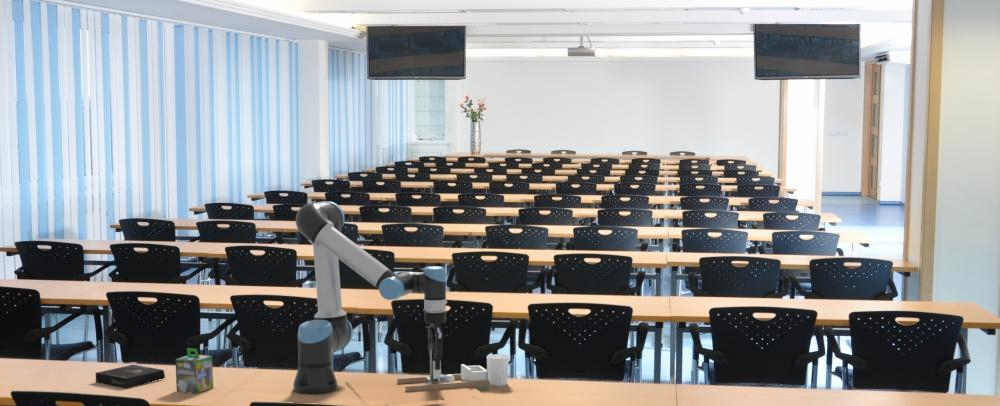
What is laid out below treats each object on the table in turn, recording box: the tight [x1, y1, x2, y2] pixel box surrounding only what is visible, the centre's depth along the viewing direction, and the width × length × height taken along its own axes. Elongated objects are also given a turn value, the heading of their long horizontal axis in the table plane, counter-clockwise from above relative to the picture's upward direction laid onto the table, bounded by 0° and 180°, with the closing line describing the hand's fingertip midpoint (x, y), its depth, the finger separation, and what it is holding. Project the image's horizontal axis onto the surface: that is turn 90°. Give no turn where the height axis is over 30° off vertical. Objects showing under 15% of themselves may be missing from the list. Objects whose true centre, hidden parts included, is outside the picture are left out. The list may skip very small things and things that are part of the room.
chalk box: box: [175, 347, 214, 394], centre depth 385 cm, size 9×9×15 cm
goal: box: [460, 363, 488, 382], centre depth 393 cm, size 7×10×6 cm
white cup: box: [486, 353, 510, 387], centre depth 395 cm, size 8×8×10 cm
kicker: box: [425, 343, 445, 384], centre depth 388 cm, size 5×7×15 cm
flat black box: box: [95, 364, 166, 389], centre depth 398 cm, size 16×17×4 cm
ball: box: [445, 373, 456, 383], centre depth 390 cm, size 4×4×4 cm
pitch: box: [396, 373, 491, 393], centre depth 389 cm, size 30×13×3 cm, turn 109°
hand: (435, 377), depth 388 cm, fingers open, 3 cm apart
